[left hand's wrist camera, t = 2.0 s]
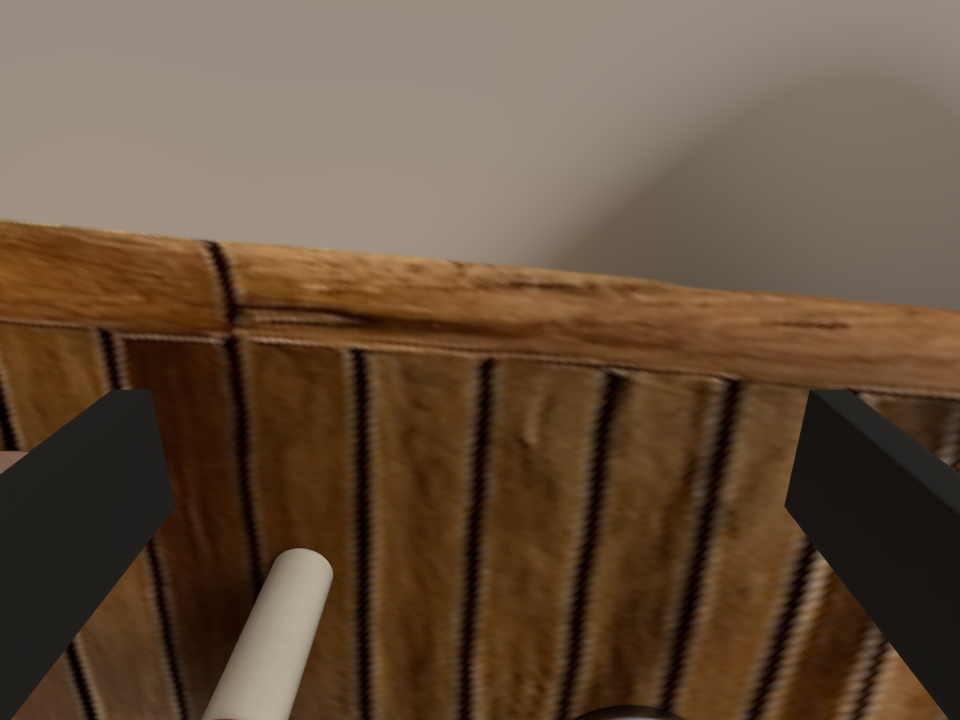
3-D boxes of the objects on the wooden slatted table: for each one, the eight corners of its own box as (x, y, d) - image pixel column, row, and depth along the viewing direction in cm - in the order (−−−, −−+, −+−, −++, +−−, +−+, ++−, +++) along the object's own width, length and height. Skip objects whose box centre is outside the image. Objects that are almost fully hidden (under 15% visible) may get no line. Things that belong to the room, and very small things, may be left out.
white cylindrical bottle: (282, 539, 48) (188, 743, 32) (341, 560, 48) (277, 770, 33) (264, 584, 49) (166, 799, 34) (321, 604, 50) (250, 823, 35)
